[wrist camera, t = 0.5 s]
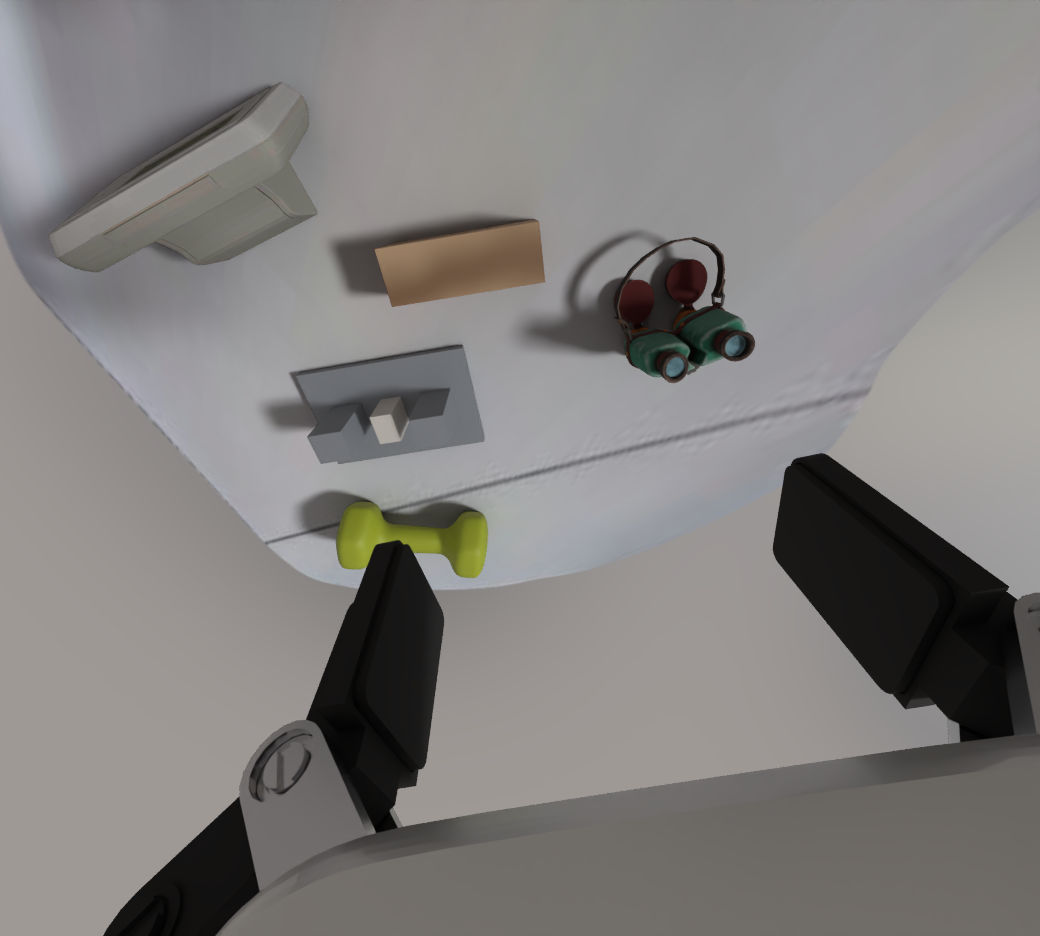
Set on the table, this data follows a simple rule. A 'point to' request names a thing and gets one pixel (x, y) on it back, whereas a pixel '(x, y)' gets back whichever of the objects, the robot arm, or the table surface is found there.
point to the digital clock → (201, 191)
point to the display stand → (392, 406)
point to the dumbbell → (412, 538)
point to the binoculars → (680, 322)
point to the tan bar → (462, 263)
